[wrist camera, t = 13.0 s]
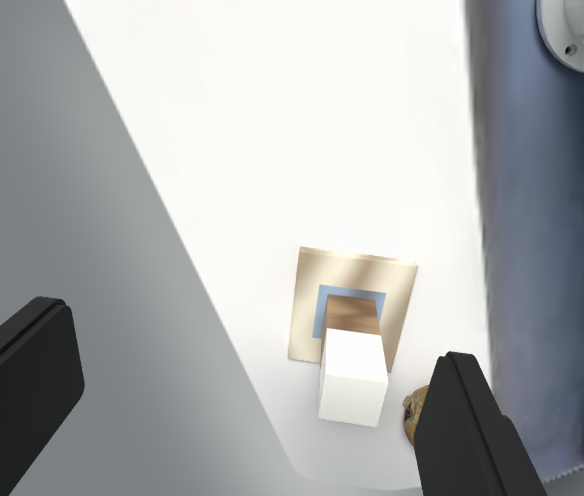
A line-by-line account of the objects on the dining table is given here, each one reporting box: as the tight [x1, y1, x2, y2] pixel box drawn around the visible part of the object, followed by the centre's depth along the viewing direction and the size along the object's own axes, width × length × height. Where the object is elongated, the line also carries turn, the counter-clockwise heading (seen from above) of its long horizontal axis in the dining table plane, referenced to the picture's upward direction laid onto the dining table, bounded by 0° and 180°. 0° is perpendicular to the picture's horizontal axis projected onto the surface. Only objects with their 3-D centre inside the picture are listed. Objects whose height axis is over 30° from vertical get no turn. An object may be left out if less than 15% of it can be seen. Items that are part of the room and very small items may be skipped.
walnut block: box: [320, 294, 381, 368], centre depth 41 cm, size 5×5×6 cm
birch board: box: [288, 247, 418, 373], centre depth 45 cm, size 12×14×1 cm
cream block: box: [318, 328, 388, 427], centre depth 36 cm, size 5×5×6 cm
